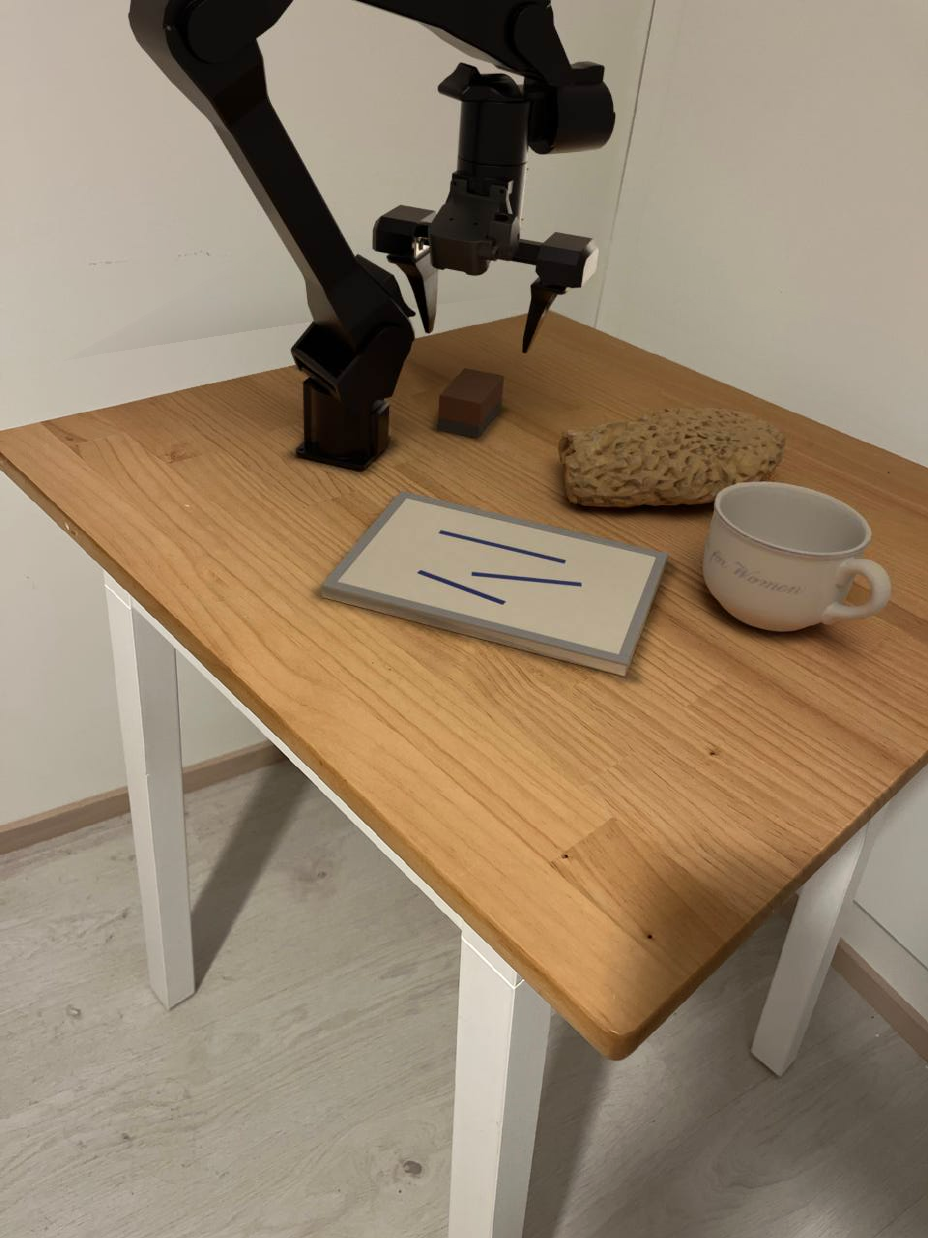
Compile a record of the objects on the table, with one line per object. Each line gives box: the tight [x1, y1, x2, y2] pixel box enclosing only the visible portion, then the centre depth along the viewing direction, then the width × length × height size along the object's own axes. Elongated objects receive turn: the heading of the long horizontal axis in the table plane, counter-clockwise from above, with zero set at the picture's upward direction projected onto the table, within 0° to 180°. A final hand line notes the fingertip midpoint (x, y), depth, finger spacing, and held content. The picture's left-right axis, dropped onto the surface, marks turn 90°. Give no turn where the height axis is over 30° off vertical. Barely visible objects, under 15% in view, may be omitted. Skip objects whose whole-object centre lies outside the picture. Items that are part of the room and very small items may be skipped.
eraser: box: [436, 367, 505, 439], centre depth 100 cm, size 4×7×4 cm, turn 161°
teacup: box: [702, 480, 892, 633], centre depth 75 cm, size 14×11×8 cm
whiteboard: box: [321, 490, 670, 678], centre depth 79 cm, size 22×15×1 cm
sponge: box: [557, 406, 787, 508], centre depth 91 cm, size 13×8×20 cm
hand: (476, 341), depth 96 cm, fingers open, 9 cm apart
